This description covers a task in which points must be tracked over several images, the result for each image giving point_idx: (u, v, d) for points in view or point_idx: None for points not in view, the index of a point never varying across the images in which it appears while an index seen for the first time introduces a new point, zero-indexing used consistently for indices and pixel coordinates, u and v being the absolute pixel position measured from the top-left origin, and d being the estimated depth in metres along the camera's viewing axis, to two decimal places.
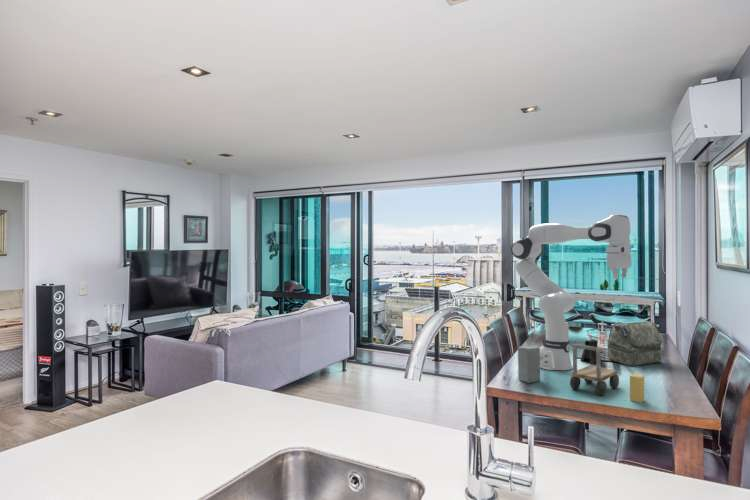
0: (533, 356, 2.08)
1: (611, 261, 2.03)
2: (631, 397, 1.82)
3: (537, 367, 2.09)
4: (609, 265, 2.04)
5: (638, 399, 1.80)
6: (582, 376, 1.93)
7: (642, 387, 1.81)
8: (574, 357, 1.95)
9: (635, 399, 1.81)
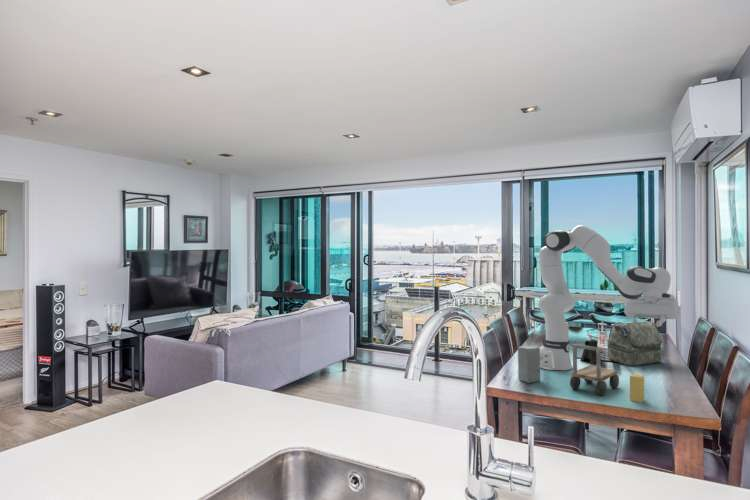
0: (533, 356, 2.08)
1: (676, 310, 1.86)
2: (631, 397, 1.82)
3: (537, 367, 2.09)
4: (675, 312, 1.85)
5: (638, 399, 1.80)
6: (582, 376, 1.93)
7: (642, 387, 1.81)
8: (574, 357, 1.95)
9: (635, 399, 1.81)
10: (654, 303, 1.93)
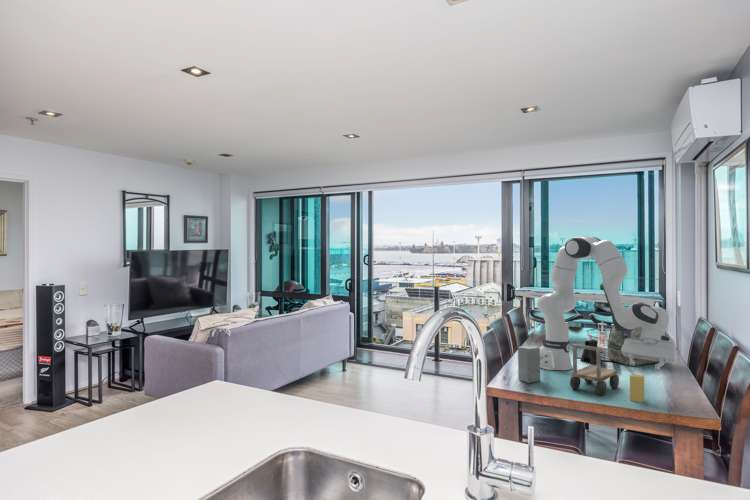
0: (533, 356, 2.08)
1: (675, 354, 1.83)
2: (631, 397, 1.82)
3: (537, 367, 2.09)
4: (674, 357, 1.82)
5: (638, 399, 1.80)
6: (582, 376, 1.93)
7: (642, 387, 1.81)
8: (574, 357, 1.95)
9: (635, 399, 1.81)
10: (652, 345, 1.90)
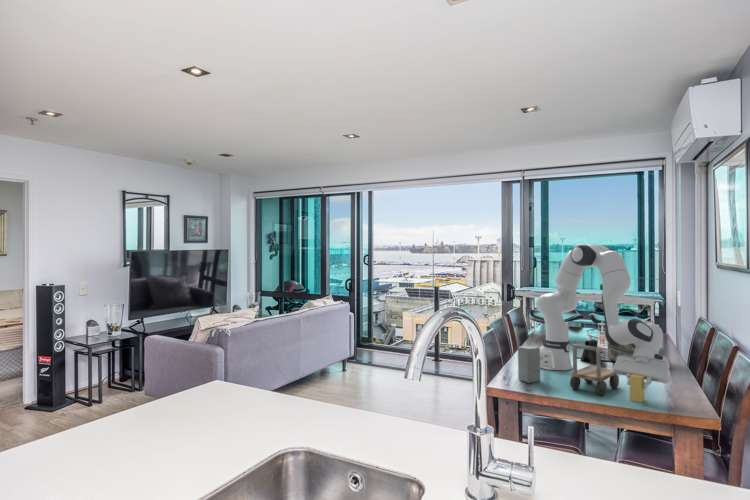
0: (533, 356, 2.08)
1: (668, 374, 1.78)
2: (631, 397, 1.82)
3: (537, 367, 2.09)
4: (667, 377, 1.77)
5: (638, 399, 1.80)
6: (582, 376, 1.93)
7: None
8: (574, 357, 1.95)
9: (635, 399, 1.81)
10: (645, 363, 1.84)
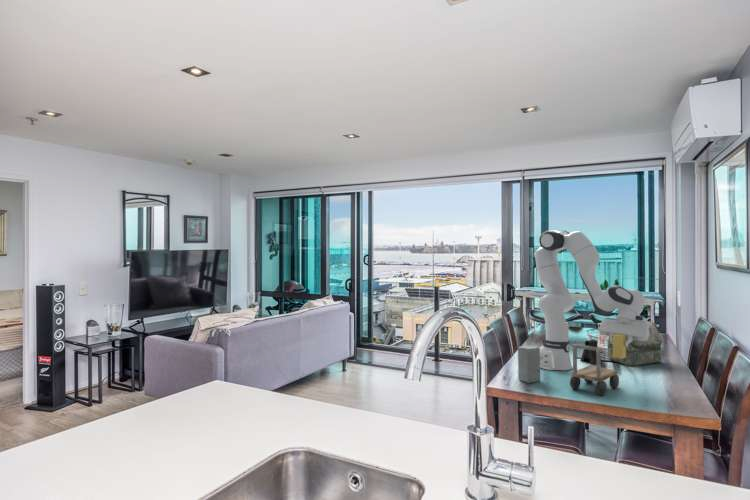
0: (533, 356, 2.08)
1: (647, 333, 1.97)
2: (614, 354, 2.01)
3: (537, 367, 2.09)
4: (646, 335, 1.95)
5: (620, 356, 1.99)
6: (582, 376, 1.93)
7: None
8: (574, 357, 1.95)
9: (617, 356, 2.00)
10: (627, 324, 2.03)
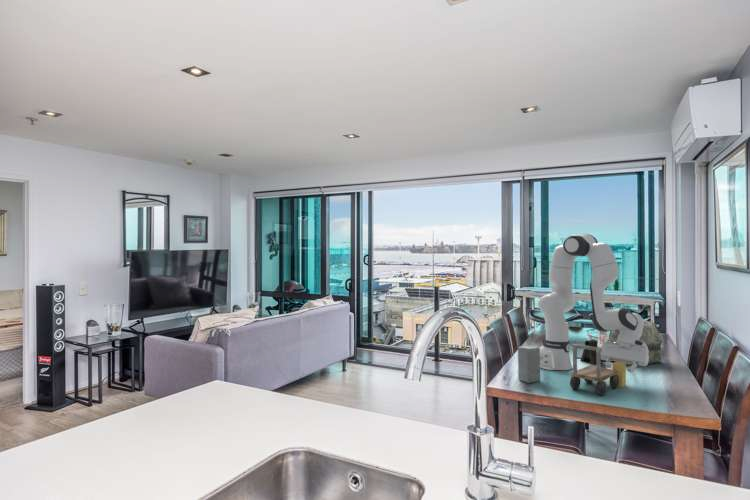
0: (533, 356, 2.08)
1: (647, 358, 1.98)
2: None
3: (537, 367, 2.09)
4: (646, 360, 1.97)
5: (620, 384, 2.00)
6: (582, 376, 1.93)
7: (623, 373, 2.01)
8: (574, 357, 1.95)
9: None
10: (627, 349, 2.04)
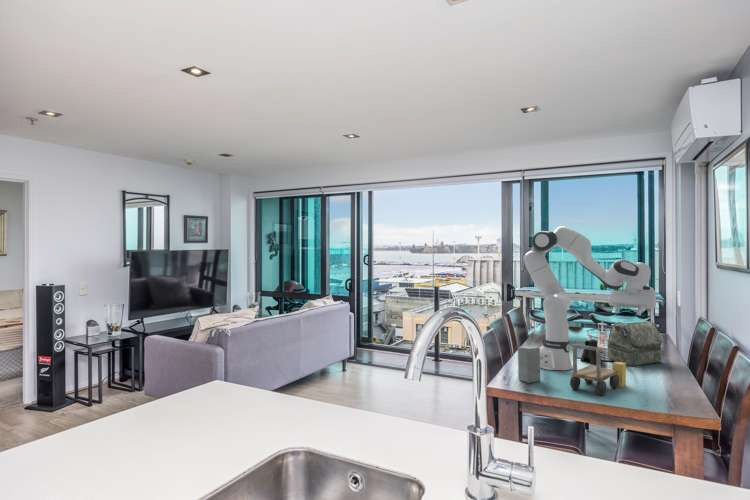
0: (533, 356, 2.08)
1: (655, 301, 2.06)
2: None
3: (537, 367, 2.09)
4: (654, 303, 2.05)
5: (620, 384, 2.00)
6: (582, 376, 1.93)
7: (623, 373, 2.01)
8: (574, 357, 1.95)
9: None
10: (635, 294, 2.12)
